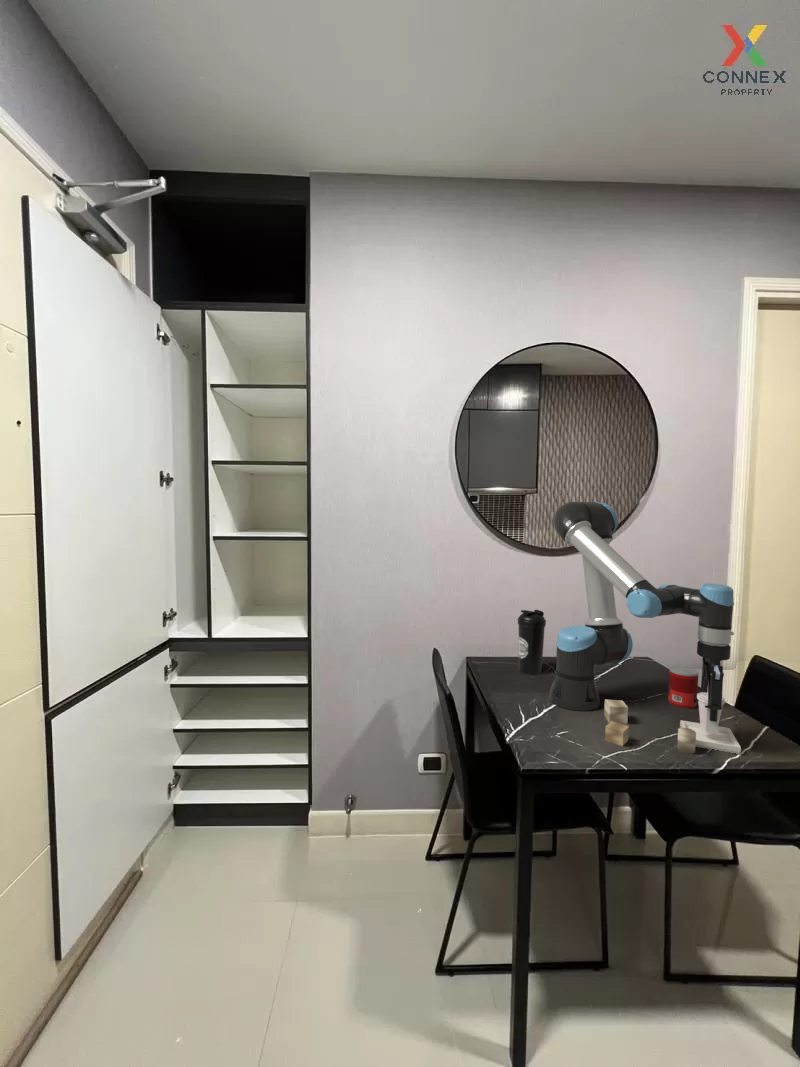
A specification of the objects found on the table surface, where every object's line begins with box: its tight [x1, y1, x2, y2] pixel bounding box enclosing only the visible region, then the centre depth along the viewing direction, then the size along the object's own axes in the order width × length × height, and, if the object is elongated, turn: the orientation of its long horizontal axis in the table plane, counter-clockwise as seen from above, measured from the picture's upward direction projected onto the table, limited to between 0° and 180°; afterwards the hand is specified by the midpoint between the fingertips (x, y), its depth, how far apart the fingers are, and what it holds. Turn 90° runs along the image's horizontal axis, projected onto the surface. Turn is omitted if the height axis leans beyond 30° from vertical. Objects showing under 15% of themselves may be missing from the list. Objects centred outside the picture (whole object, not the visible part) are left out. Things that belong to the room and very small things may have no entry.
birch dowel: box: [676, 727, 696, 755], centre depth 127 cm, size 4×4×5 cm
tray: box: [679, 719, 742, 755], centre depth 133 cm, size 12×12×2 cm
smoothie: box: [697, 691, 726, 735], centre depth 132 cm, size 6×6×14 cm
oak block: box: [604, 721, 630, 747], centre depth 131 cm, size 4×4×4 cm
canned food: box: [667, 665, 699, 709], centre depth 157 cm, size 8×8×11 cm
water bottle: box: [517, 609, 547, 676], centre depth 185 cm, size 10×10×23 cm
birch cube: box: [603, 698, 629, 725], centre depth 144 cm, size 5×5×5 cm
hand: (708, 726), depth 132 cm, fingers open, 6 cm apart
